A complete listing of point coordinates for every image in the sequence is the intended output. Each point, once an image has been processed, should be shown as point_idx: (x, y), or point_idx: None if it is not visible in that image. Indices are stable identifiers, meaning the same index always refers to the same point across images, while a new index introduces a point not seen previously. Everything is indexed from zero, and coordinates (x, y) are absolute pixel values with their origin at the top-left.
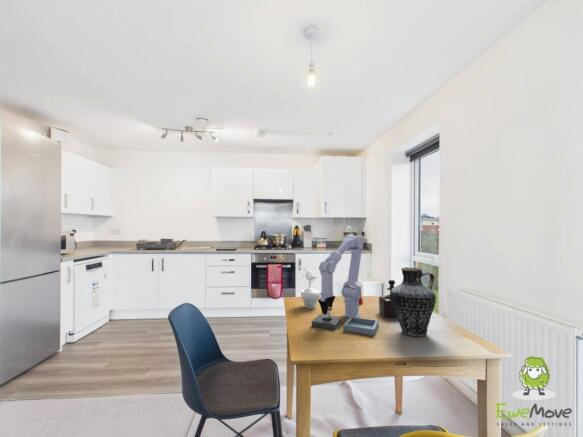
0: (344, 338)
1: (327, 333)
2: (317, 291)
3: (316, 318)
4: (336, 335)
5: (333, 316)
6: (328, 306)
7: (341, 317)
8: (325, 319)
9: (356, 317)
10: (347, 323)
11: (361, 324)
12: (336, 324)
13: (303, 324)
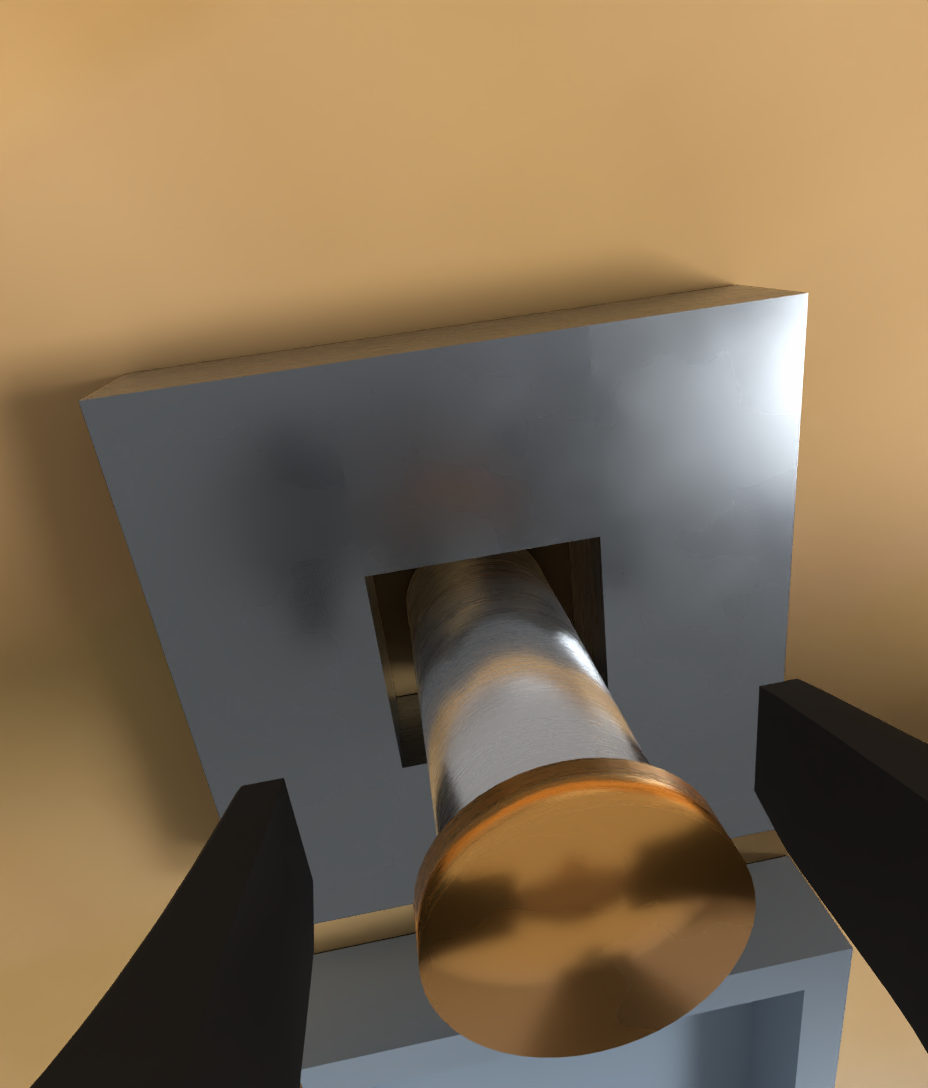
0: (38, 1072)
1: (15, 824)
2: None
3: (399, 397)
4: (55, 957)
5: (767, 677)
6: (658, 956)
7: (765, 826)
8: (415, 665)
9: (823, 1033)
10: (418, 1075)
11: (703, 1032)
12: (343, 902)
13: (90, 71)
